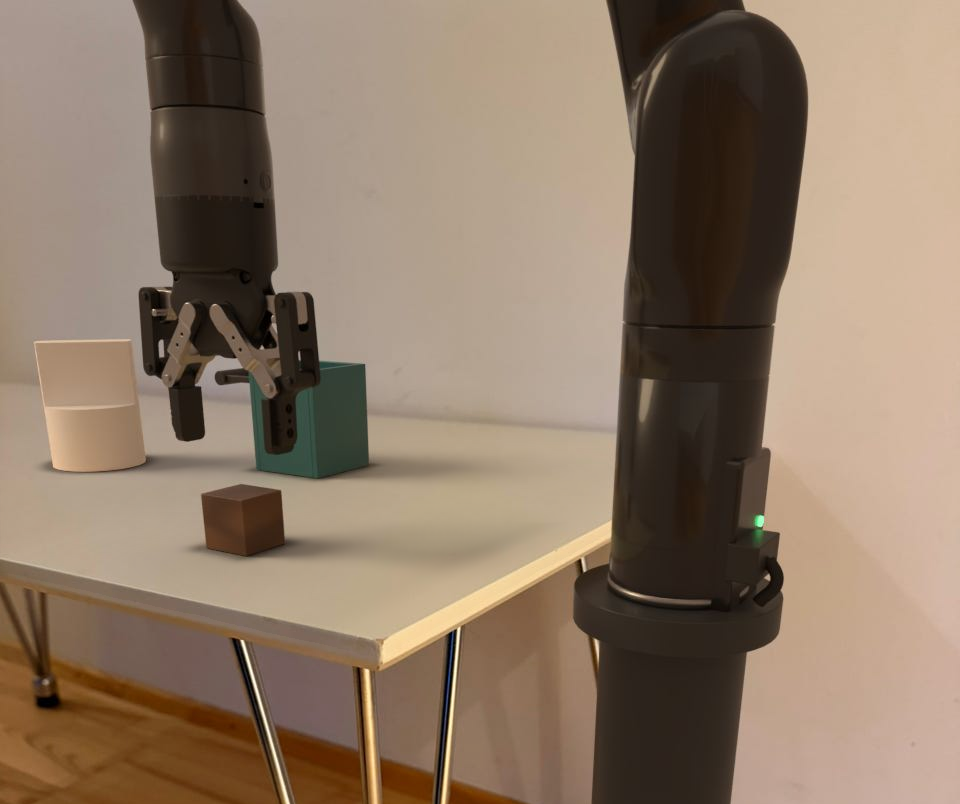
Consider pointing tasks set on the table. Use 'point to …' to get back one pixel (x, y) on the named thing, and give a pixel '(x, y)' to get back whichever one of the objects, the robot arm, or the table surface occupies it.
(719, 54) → the robot arm
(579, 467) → the table surface
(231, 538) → the block
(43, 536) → the table surface
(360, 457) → the teal open storage bin
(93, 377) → the base with upright slab
